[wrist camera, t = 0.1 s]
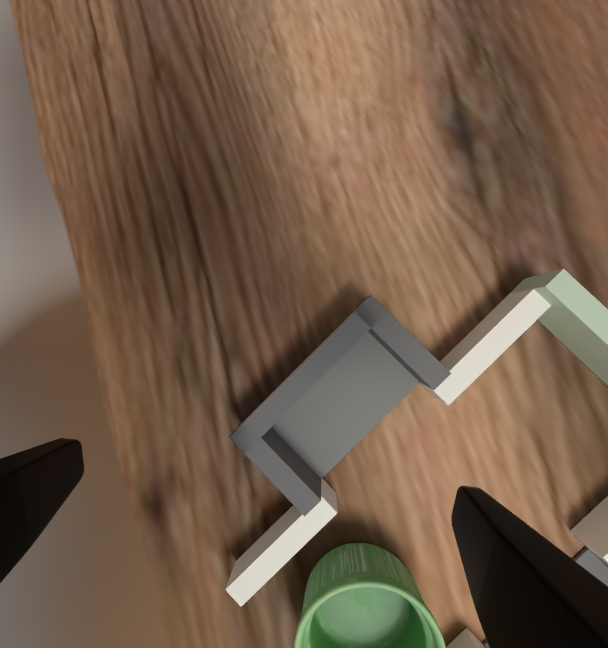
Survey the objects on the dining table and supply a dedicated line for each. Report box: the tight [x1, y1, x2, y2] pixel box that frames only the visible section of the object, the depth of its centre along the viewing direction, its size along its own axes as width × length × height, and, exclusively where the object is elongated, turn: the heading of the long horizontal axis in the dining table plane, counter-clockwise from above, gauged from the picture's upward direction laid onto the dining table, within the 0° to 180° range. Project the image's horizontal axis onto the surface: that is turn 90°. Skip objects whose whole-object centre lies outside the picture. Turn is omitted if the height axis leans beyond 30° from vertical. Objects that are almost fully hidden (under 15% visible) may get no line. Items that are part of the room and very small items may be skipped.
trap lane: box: [225, 269, 608, 648], centre depth 20 cm, size 30×30×4 cm
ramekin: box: [294, 543, 446, 648], centre depth 20 cm, size 9×9×4 cm
